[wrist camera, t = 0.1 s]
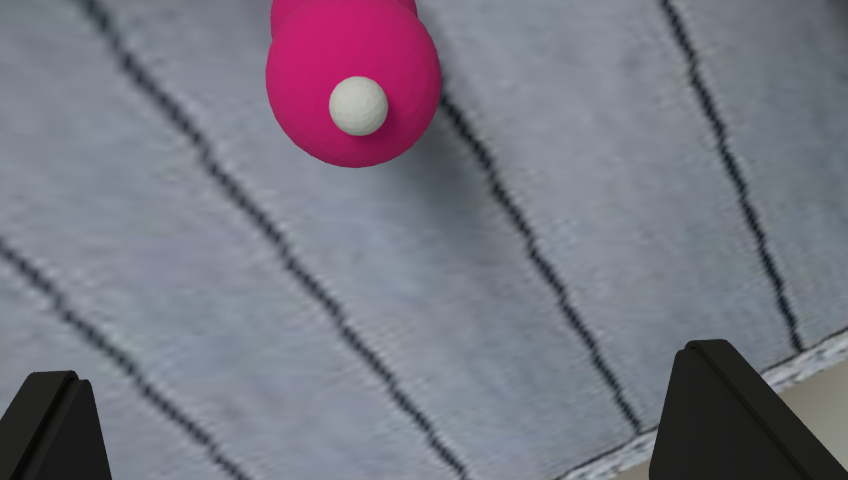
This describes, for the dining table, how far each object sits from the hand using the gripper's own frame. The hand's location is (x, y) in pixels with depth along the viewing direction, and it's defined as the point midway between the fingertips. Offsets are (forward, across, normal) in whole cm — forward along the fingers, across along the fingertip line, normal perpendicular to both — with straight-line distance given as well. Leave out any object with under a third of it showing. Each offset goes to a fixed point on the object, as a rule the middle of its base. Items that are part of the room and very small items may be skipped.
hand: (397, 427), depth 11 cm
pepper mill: (+31, 0, -2) cm, 31 cm away
